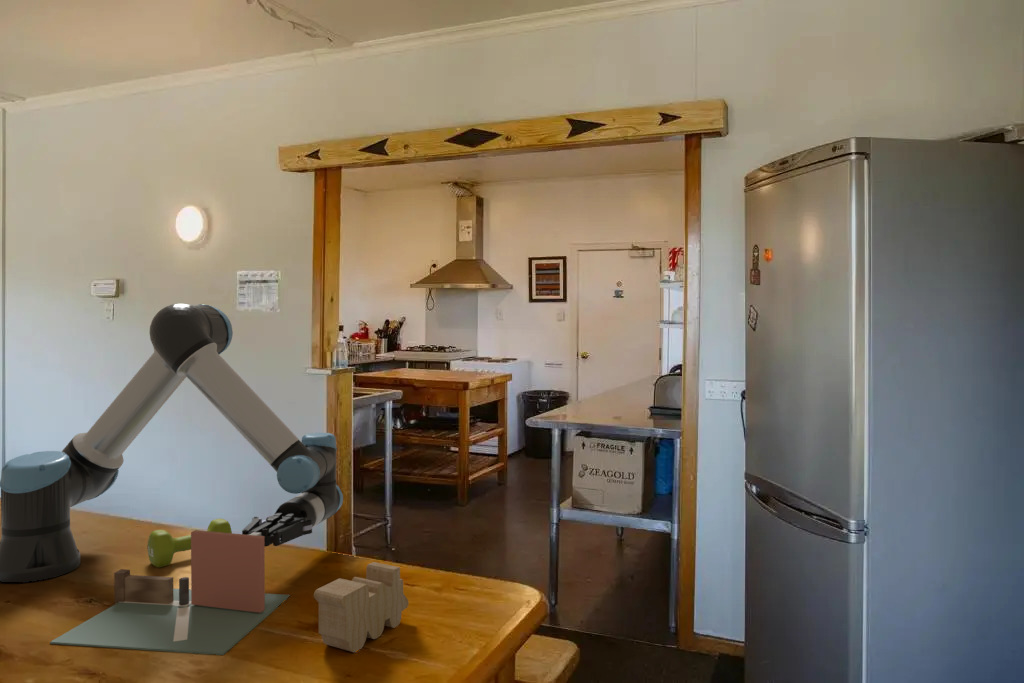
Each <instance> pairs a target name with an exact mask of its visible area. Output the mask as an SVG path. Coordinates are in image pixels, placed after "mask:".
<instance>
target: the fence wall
mask: <svg viewBox="0 0 1024 683" xmlns="http://www.w3.org/2000/svg"><path fill="white" fill-rule="evenodd" d="M113 576H114V579H113V580H114V583H113V584H114V586H113V587H114V604H117V603H118V602H140V603H157V604H170V603H171V602H173V601H174V596H173V588H174V577H173V576H157V575H156V576H154V575H136V574H135V575H134V574H131V569H119V570H117V571H115V572H114V574H113ZM178 589H179V605H186V604H189V589H190V578H189V577H186V576H185V577H180V578H179V579H178Z"/></svg>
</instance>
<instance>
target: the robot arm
mask: <svg viewBox="0 0 1024 683" xmlns="http://www.w3.org/2000/svg"><path fill="white" fill-rule="evenodd" d="M233 333H234V332H233V326H232V322H231V320H230V318H229V316H228V315H226V313H225V312H223V311H222V310H221V309H219V308H217V307H215V306H212V305H209V304H205V303H204V304H203V303H200V304H189V303H172V304H170V305H167V306H165V307H163V308H161V309H160V310H159V311H158V312H157V313H156V314H155V315H154V317H153V318H152V320H151V322H150V326H149V339H150V342H151V344H152V347H153V353H152V354H151V356H150V357H149V358H148V359H146V361H145V363H144V364H143V365H142V367H141V368H140V369H139V370H137V372H136V373H135V375H133V377H131V380H129V382H128V383H127V384H126V385H125V386H124V388H123V389H122V390H121V391H120V393H119V394H118V395H117V396H116V397H115V399H114V400H113V401H112V402H111V403H110V405H109V406H107V409H105V410H104V412H103V413H102V414H101V415H100V416H99V418H98V419H97V420H96V421H95V422H94V424H93V425H92V426H91V427H90V428H89V429H88V430H87V432H80V433H76V434H75V435H74V436H73V438H72V439H71V440H70V441H69V442H68V443H67V445H66V446H65V447H64V448H63V449H62V450H61V451H60V450H59V451H58V450H44V451H36V452H32V453H25V454H23V455H19V456H16V457H14V458H12V459H9V460H8V461H7V462H6V463H5V464H4V465H3V466H2V468H1V471H0V472H1V474H0V475H1V476H0V510H1V511H0V513H1V516H0V518H1V520H0V522H1V538H0V581H1V582H23V583H30V582H29V581H32V582H38V581H37V580H39V581H43V579H44V580H47V579H48V578H49V579H51V578H56V577H60V576H63V575H65V574H68V573H70V572H72V571H74V570H76V569H77V568H79V567H80V565H81V552H80V549H79V548H78V547H77V544H76V540H75V537H74V534H73V532H72V529H71V507H74V506H76V505H78V504H82V503H84V502H87V501H90V500H93V499H95V498H97V497H99V496H100V495H103V494H104V493H105V492H106V491H108V490H109V489H110V488H111V487H112V486H113V485H114V484H115V482H116V480H117V479H118V476H119V469H120V468H121V467H122V466H123V464H124V457H123V456H124V455H123V454H124V452H125V451H126V450H127V449H128V447H129V446H130V445H131V444H132V443H133V442H134V440H135V439H136V438H137V437H138V436H139V434H140V433H141V432H142V431H143V430H144V428H146V426H147V425H148V424H149V422H150V421H151V420H152V419H153V418H154V416H155V415H157V413H158V412H159V410H160V409H161V408H162V407H163V406H164V405H165V404H166V402H167V401H168V400H169V398H170V397H171V396H172V395H173V394H174V393H175V391H176V390H177V389H178V388H179V386H180V385H181V384H182V383H183V381H185V380H186V378H187V379H188V380H189V381H190V382H191V383H192V384H193V385H194V386H195V387H196V388H197V390H199V391H200V393H201V394H203V395H204V397H205V398H206V399H207V400H208V401H209V402H210V403H211V404H212V405H213V406H214V407H215V408H216V409H217V410H218V412H219V413H221V415H222V416H223V417H224V418H225V419H226V420H227V421H228V422H229V423H230V424H231V425H232V427H234V428H235V430H236V431H237V432H238V433H239V434H240V435H241V436H242V437H243V438H244V439H245V440H246V441H247V442H248V443H249V444H250V445H251V447H252V448H254V449H255V450H256V452H257V453H258V454H259V455H260V456H261V457H262V458H263V459H264V460H265V461H266V462H267V463H268V465H270V467H272V468H273V469H274V471H275V472H276V480H277V482H278V486H280V488H282V490H283V491H284V492H286V493H289V494H294V495H296V494H298V495H297V496H294V497H293V498H291V499H289V500H287V501H286V502H284V503H282V504H280V505H279V506H278V508H277V509H276V510H275V513H274V514H273V515H269V516H267V517H266V519H262V518H261V517H259V516H254V517H252V518H251V519H252V520H251V521H250V522H249V524H247V525H246V526H245V527H244V528H243V529H242V530H241V531H242V532H241V534H244V535H255V536H264V548H265V547H269V546H271V545H273V546H274V547H278V546H281V545H283V544H285V543H289V542H291V541H293V540H295V539H297V538H300V537H302V536H306V535H311V534H313V528H314V527H315V526H317V525H319V524H321V523H323V522H324V521H326V520H328V519H330V518H331V517H333V516H334V515H335V514H336V513H337V512H338V510H340V508H341V507H342V505H343V501H344V495H343V493H342V492H343V491H342V490H341V488H340V487H339V485H337V451H338V448H337V438H336V436H335V435H334V434H333V433H331V432H312V433H306V434H303V436H302V437H301V440H300V438H298V436H296V434H295V433H293V431H292V430H291V429H290V428H289V427H288V426H287V425H286V424H285V423H284V422H283V421H282V420H281V419H280V417H279V416H278V415H277V414H276V413H275V412H274V411H273V410H272V409H271V407H269V406H268V404H266V402H264V400H262V398H261V397H260V396H259V395H258V394H257V393H256V392H255V390H253V389H252V388H251V386H249V384H247V382H246V381H245V380H244V379H243V378H242V377H241V376H240V375H239V374H238V373H237V372H236V371H235V370H234V368H232V366H231V365H229V363H228V362H227V361H226V360H225V359H224V358H223V357H222V356H221V354H223V352H225V351H226V350H227V349H228V347H229V346H230V344H231V342H232V340H233ZM1 582H0V583H1Z"/></svg>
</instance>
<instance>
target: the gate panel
mask: <svg viewBox="0 0 1024 683" xmlns="http://www.w3.org/2000/svg"><path fill="white" fill-rule="evenodd" d="M190 535H191V550H190V566H191V567H190V576H191V577H190V578H191V579H190V584H191V586H190V587H191V588H190V589H191V604H192V605H201V606H209V607H217V608H226V609H234V610H242V611H251V612H259V613H261V612H262V611H264V610H265V594H266V593H265V592H266V591H265V590H266V589H265V586H266V584H265V580H266V579H265V575H266V574H265V570H266V569H265V566H266V565H265V546H264V536H255V535H244V534H242V533H241V534H240V533H233V532H232V533H222V532H210V531H207V530H197V529H195V530H192V531H191V532H190Z"/></svg>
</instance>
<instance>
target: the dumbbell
mask: <svg viewBox="0 0 1024 683" xmlns="http://www.w3.org/2000/svg"><path fill="white" fill-rule="evenodd" d="M206 531H210V532H222V533H233V532H232V528H231V524H230V522H229V521H228V520H226V519H224V518H216V519H213V520H211V521H210V522H209V525H208V527H207V530H206ZM186 551H191V534H187V535H183V536H179V537H173V536H172V534H171V533H170V532H168V530H165V529H156V530H152V532H150V534H149V536H148V540H147V555H148V560H149V562H150V564H151V565H152V566H154V567H155V566H156V567H155V568H158V567H159V568H163V567H164V568H165V567H168V566H169V565H170V564H171V563H172V562H173V558H174V555H175V553H179V552H180V553H182V552H186Z"/></svg>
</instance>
